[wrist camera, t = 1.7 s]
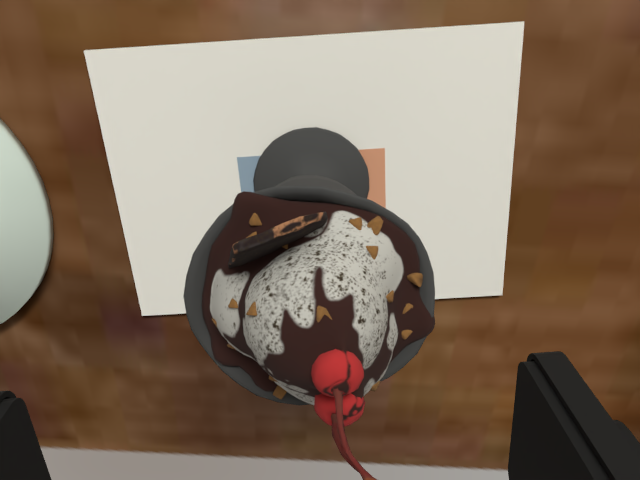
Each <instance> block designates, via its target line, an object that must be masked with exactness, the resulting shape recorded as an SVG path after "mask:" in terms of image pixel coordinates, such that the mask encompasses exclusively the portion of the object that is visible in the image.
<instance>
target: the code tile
mask: <svg viewBox="0 0 640 480" xmlns="http://www.w3.org/2000/svg"><path fill="white" fill-rule="evenodd" d="M523 31H524V22H523V21H522V22H507V23H492V24H476V25H461V26H446V27H431V28H415V29H400V30H385V31H369V32H354V33H339V34H323V35H308V36H293V37H278V38H262V39H247V40H232V41H216V42H201V43H186V44H171V45H155V46H140V47H125V48H109V49H94V50H84V54H85V58H86V63H87V68H88V72H89V77H90V81H91V86H92V90H93V95H94V99H95V104H96V108H97V113H98V118H99V122H100V127H101V131H102V136H103V140H104V145H105V149H106V154H107V158H108V163H109V167H110V172H111V177H112V181H113V186H114V190H115V195H116V199H117V204H118V208H119V213H120V217H121V222H122V227H123V231H124V236H125V240H126V245H127V249H128V254H129V258H130V263H131V267H132V272H133V276H134V281H135V286H136V290H137V295H138V299H139V304H140V308H141V313H142V316H150V315H167V314H184V313H186V309H185V303H184V297H183V295H184V288H185V281H186V275H187V272H188V268H189V265H190V262H191V258H192V255H193V253H194V251H195V249H196V248H197V246H198V245H199V243H200V241H201V240H202V238H203V236H204V235H205V233H206V232H207V230H208V229H209V228H210V227H211V225H212V224H213V223H214V221H215V220H216V219H217V218H218V216H219V215H220V214H222V213H223V212H224V211H225V210H226V209H228V208H229V207H230V206H231V205H232V204H233V203H234V200H235V198H236V196H237V194H238V193H241V192H243V191H246V192H254V182H253V179H254V174H255V169H256V166H257V163H258V160H259V158H260V156H261V155H262V153H263V152H264V150H265V149H266V148H267V147H268V146H269V145H270V144H271V142H272V141H274V140H275V139H277V138H278V137H280V136H281V135H283V134H285V133H287V132H290V131H292V130H295V129H301V128H312V127H318V128H322V129H326V130H330V131H333V132H335V133H338V134H340V135H342V136H343V137H344V138H346V139H347V140H349V141H350V142H351V143H352V144H353V145H354V146H355V147H356V148H357V149H358V150H359V152H360V154H361V155H362V157H363V159H364V161H365V163H366V165H367V168H368V173H369V193H368V197H367V199H369V200H372V201H374V202H376V203H377V204H379V205H381V206H382V207H384V208H386V209H388V210H389V211H391V212H393V213H394V214H396V215H397V216H398V217H400V218H401V219H402V220H404V221H405V222H406V223H408V224H409V225H410V227H411V228H412V229H413V230H414V231H415V233H416V234H417V235H418V236H419V238H420V239H421V241H422V243H423V245H424V247H425V249H426V251H427V253H428V256H429V259H430V262H431V266H432V269H433V272H434V285H435V299H445V298H463V297H480V296H497V295H502V292H503V280H504V267H505V255H506V242H507V230H508V217H509V205H510V193H511V180H512V168H513V155H514V143H515V130H516V118H517V106H518V93H519V81H520V68H521V56H522V43H523Z"/></svg>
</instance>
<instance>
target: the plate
mask: <svg viewBox="0 0 640 480" xmlns="http://www.w3.org/2000/svg"><path fill="white" fill-rule="evenodd" d="M53 236H54V233H53V217H52V212H51V207H50V202H49V198H48V195H47V192H46V189H45V186H44V183H43V181H42V178H41V176H40V174H39V172H38V170H37V168H36V166H35V164H34V162H33V160H32V159H31V157H30V156H29V154H28V153H27V151H26V149H25V148H24V146H23V145H22V143H21V142H20V141H19V140H18V138H17V137H16V136H15V135H14V133H13V132H12V131H11V130H10V128H9V127H8V126H7V125H6V124H5V123H4V122H3V121H2V120H1V119H0V324H1V323H3V322H5V321H6V320H8V319H9V318H10V317H11V316H13V315H14V314H15V313H16V312H18V311H19V309H20V308H21V307H22V306H23V305H24V304H25V303H26V302H27V301H28V300H29V299H30V297H31V296H32V295H33V294H34V293H35V291H36V290H37V288H38V287H39V285H40V284H41V282H42V280H43V278H44V276H45V273H46V271H47V269H48V266H49V262H50V258H51V254H52V247H53Z"/></svg>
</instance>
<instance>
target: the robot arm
mask: <svg viewBox="0 0 640 480" xmlns="http://www.w3.org/2000/svg"><path fill="white" fill-rule="evenodd" d="M508 474H509V480H640V443H639V442H638V441H637V439H636V438H635V437H634V435H633V434H632V433H631V431H630V430H629V429H628V428H627V427H626V426H625V425H624V424H623V423H622V422H620V421H618V420H612V419H611V417H610V416H609V414H608V413H607V412H606V410H605V409H604V408H603V406H602V405H601V403H600V402H599V401H598V399H597V398H596V397H595V395H594V394H593V393H592V391H591V390H590V388H589V387H588V386H587V384H586V383H585V382H584V380H583V379H582V377H581V376H580V375H579V373H578V372H577V371H576V369H575V368H574V366H573V365H572V364H571V362H570V361H569V360H568V358H567V357H566V355H565V354H564V353H563V352H560V351H558V352H544V353H531V354H529V356H528V358H527V362H520V363H519V366H518V373H517V383H516V393H515V403H514V413H513V423H512V433H511V443H510V453H509V463H508ZM0 480H51V477H50V474H49V472H48V469H47V466H46V463H45V460H44V457H43V454H42V451H41V448H40V445H39V442H38V440H37V437H36V434H35V431H34V428H33V425H32V422H31V419H30V416H29V413H28V410H27V407H26V405H25V402H24V401H23V400H22V399H21V398H16V396H15V394H13V393H12V392H11V391H0Z"/></svg>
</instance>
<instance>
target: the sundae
mask: <svg viewBox="0 0 640 480" xmlns="http://www.w3.org/2000/svg"><path fill="white" fill-rule="evenodd" d="M253 182H254V192H246V191H243V192H241V193H238V194H237V196H236V198H235V200H234V203H233V204H232V205H231V206H230V207H229V208H228V209H226V210H225V211H224V212H223V213H222V214H220V215H219V216H218V218H217V219H216V220H215V221H214V223H213V224H212V225H211V227H210V228H209V229H208V230H207V232H206V233H205V235H204V236H203V238H202V240H201V241H200V243H199V245H198V246H197V248H196V249H195V251H194V253H193V255H192V258H191V262H190V265H189V268H188V272H187V275H186V281H185V288H184V295H183V297H184V303H185V309H186V315H187V318H188V321H189V324H190V327H191V330H192V331H193V333H194V335H195V336H196V338H197V339H198V341H199V343H200V344H201V345H202V347H203V348H204V349H205V351H206V352H207V353H208V355H209V356H210V357H211V358H212V360H213V361H214V362H215V363H216V364H217V365H218V366H219V368H220V369H221V370H222V371H223V372H224V373H225V374H227V375H228V376H229V377H230V378H232V379H233V380H234V381H235V382H236V383H238V384H239V385H241V386H242V387H244V388H246V389H247V390H249V391H250V392H252V393H254V394H255V395H257V396H260V397H263V398H266V399H270V400H273V401H276V402H280V403H287V404H294V405H307V404H312V405H314V409H315V411H316V413H317V415H318V416H319V417H320V418H321V419H322V420H323V421H324V422H325V423H327V424H328V425H331V426H332V436H333V438H334V440H335V442H336V445H337V447H338V449H339V451H340V453H341V455H342V456H343V458H344V459H345V460H346V461H347V462H348V463H349V464H350V465H351V466H352V467H353V468H354V469H355V470H356V471H358V472H359V473H360V474H361V476H362V478H363V480H376V479H375V478H373V477H372V476H371V475H370V474H369V473H368V472H367V471H366V470H365V469H363V467H362V466H361V465H360V464H359V463H358V461H357V460H356V459H355V458H354V456H353V455H352V453H351V451H350V448H349V446H348V442H347V438H346V436H345V429H344V426H348V425H351V424H352V423H354V422H355V421H357V420H358V419H359V418H360V417H361V415H362V414H363V410H364V405H365V401H364V398H363V396H364V395H365V394H366V393H368V392H369V391H370V390H372V391H376V389H377V387H378V385H379V384H380V381H382V380H385V379H387V378H389V377H390V376H392V375H393V374H394V373H396V372H397V371H399V370H400V369H401V368H403V367H404V366H405V365H406V364H407V363H408V362H409V361H410V360H411V359H412V358H413V357H414V356H415V355H416V354H417V353H418V351H419V349H420V347H421V346H422V344H423V342H424V340H425V338H426V337H427V336H428V335H429V334H430V333H431V332H432V330H433V328H434V325H435V319H434V304H435V285H434V272H433V269H432V266H431V262H430V259H429V256H428V253H427V251H426V249H425V247H424V245H423V243H422V241H421V239H420V238H419V236H418V235H417V234H416V233H415V231H414V230H413V229H412V228H411V227H410V225H409V224H408V223H406V222H405V221H404V220H402V219H401V218H400V217H398V216H397V215H396V214H394V213H393V212H391V211H389V210H388V209H386V208H384V207H382V206H381V205H379V204H377V203H376V202H374V201H372V200H369V199H367V197H368V193H369V173H368V168H367V165H366V163H365V161H364V159H363V157H362V155H361V154H360V152H359V150H358V149H357V148H356V147H355V146H354V145H353V144H352V143H351V142H350V141H349V140H347V139H346V138H344V137H343V136H342V135H340V134H338V133H335V132H333V131H330V130H326V129H322V128H318V127H312V128H301V129H295V130H292V131H290V132H287V133H285V134H283V135H281V136H280V137H278V138H277V139H275V140H274V141H272V142H271V144H270V145H269V146H268V147H267V148H266V149H265V150H264V152H263V153H262V155H261V156H260V158H259V160H258V163H257V166H256V169H255V174H254V179H253Z"/></svg>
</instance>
